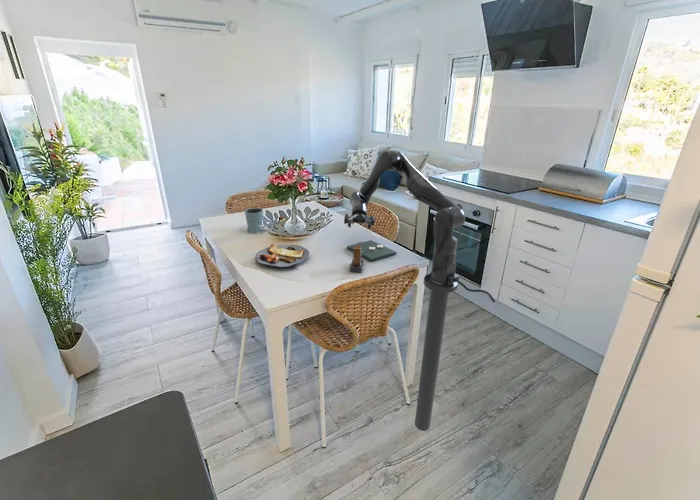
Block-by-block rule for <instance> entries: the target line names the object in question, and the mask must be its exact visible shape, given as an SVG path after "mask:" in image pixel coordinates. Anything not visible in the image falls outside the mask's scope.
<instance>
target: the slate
mask: <svg viewBox="0 0 700 500" xmlns="http://www.w3.org/2000/svg"><path fill="white" fill-rule="evenodd" d="M377 245H381V243H378V242H376V241H374V240H371V239H370V240H366V241H361V242H358V243H353V244H349V245H347V246H346V249H347V250H349V251H351V252H353V253H354V246H361V258H362V257H363V259H366V260H368V261H370V262H374V261H377V260H380V259H385V258H387V257H391V256H395V255H397V251H395V250H393V249H391V248H389V247H387V246H384V245H383V248H377ZM369 247H375V250H369Z"/></svg>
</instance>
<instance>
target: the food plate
mask: <svg viewBox="0 0 700 500" xmlns="http://www.w3.org/2000/svg"><path fill="white" fill-rule="evenodd" d="M310 255H311V252H310V250H309V249H308V248H307V247H304V246H303V245H297V244H288V243H287V244H278V245H275V244H271V245H270V246H268V247H265V248H263V249H261V250H259V251H258V252H257V253H256V254H255V257H254V259H255V260H256V262H258V264H262V265H266V266H269V267H278V268H285V267H286V268H287V267H291V266H293V265H296V264H297V265H298V264H299V263H302V262H303V261H305V260H306V259H307V258H308V257H310Z"/></svg>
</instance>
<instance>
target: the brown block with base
mask: <svg viewBox="0 0 700 500" xmlns="http://www.w3.org/2000/svg"><path fill="white" fill-rule="evenodd" d="M364 259H365V258H362V256H361V246H354V252H353V258H352V260H351V264H350V267H349V273H355V274H362V272H363V268H364Z"/></svg>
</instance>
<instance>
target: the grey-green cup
mask: <svg viewBox="0 0 700 500" xmlns="http://www.w3.org/2000/svg"><path fill="white" fill-rule="evenodd" d="M244 215H245V220H246V225H247V229H248V232H249V233H259V232H263V231H264V230H262V229H261V228H260V227H259V226H258V225H262V220H263V221H264V210H263V208H259V207H251V208H247V209H245V210H244Z"/></svg>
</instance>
